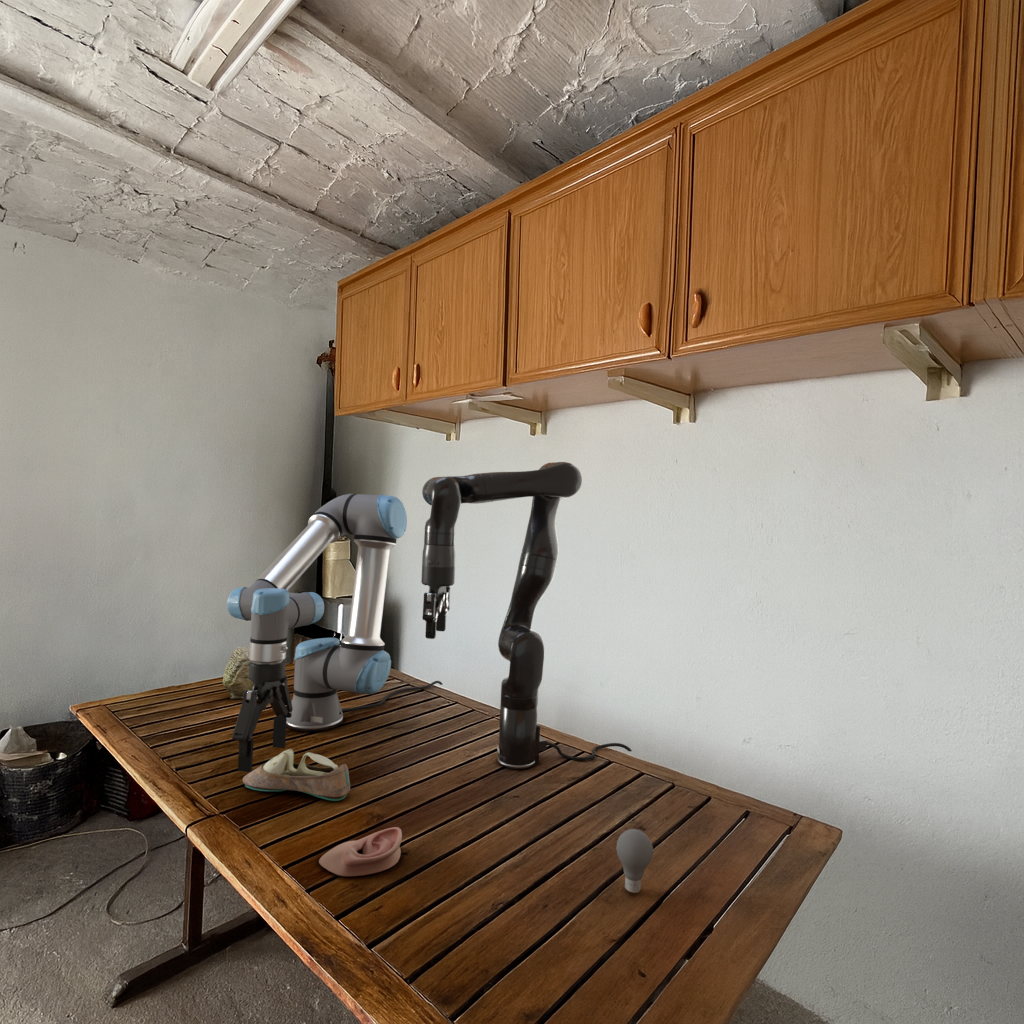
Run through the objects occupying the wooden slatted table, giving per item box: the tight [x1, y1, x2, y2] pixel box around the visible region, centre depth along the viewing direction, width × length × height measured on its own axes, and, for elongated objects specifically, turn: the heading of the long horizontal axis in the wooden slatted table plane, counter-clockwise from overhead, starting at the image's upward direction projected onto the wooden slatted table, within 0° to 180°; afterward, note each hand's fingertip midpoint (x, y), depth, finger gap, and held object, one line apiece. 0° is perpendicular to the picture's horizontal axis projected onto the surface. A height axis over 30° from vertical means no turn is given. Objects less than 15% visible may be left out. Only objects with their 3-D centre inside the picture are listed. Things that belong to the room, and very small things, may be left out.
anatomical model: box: [318, 826, 403, 877], centre depth 111 cm, size 13×4×12 cm
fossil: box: [222, 646, 254, 699], centre depth 198 cm, size 9×18×15 cm, turn 132°
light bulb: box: [615, 828, 654, 894], centre depth 106 cm, size 6×6×10 cm
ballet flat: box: [242, 748, 351, 802], centre depth 136 cm, size 8×25×8 cm, turn 81°
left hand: (262, 758), depth 137 cm, fingers open, 13 cm apart
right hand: (435, 634), depth 145 cm, fingers open, 8 cm apart
